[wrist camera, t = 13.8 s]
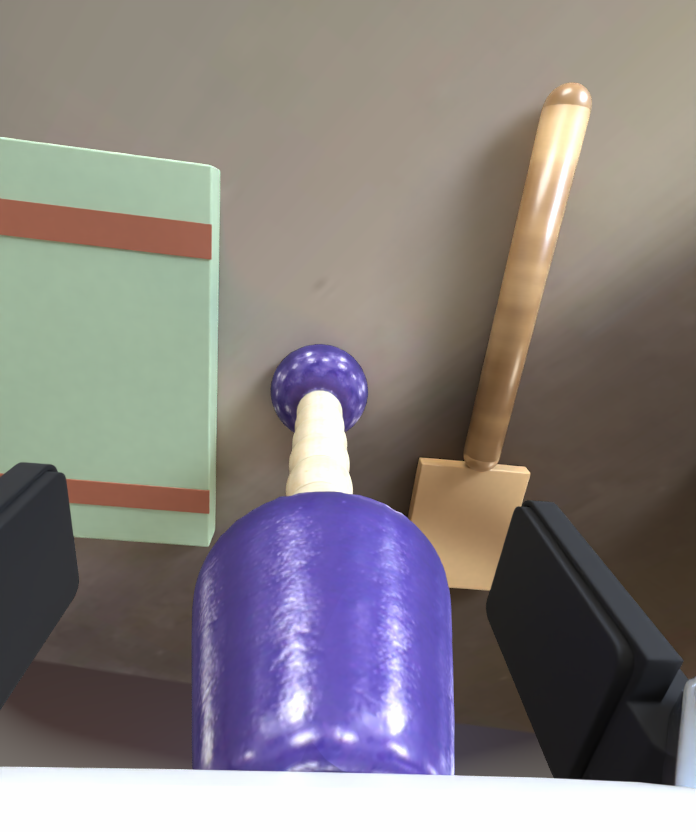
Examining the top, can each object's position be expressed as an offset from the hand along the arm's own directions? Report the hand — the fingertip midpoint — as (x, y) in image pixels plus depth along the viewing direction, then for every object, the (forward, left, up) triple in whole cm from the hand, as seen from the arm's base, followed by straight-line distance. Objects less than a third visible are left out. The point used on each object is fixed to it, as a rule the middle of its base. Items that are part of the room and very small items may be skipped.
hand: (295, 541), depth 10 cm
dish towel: (-9, 0, -11) cm, 14 cm away
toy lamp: (+1, 0, -12) cm, 12 cm away
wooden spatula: (+8, +1, -12) cm, 14 cm away
